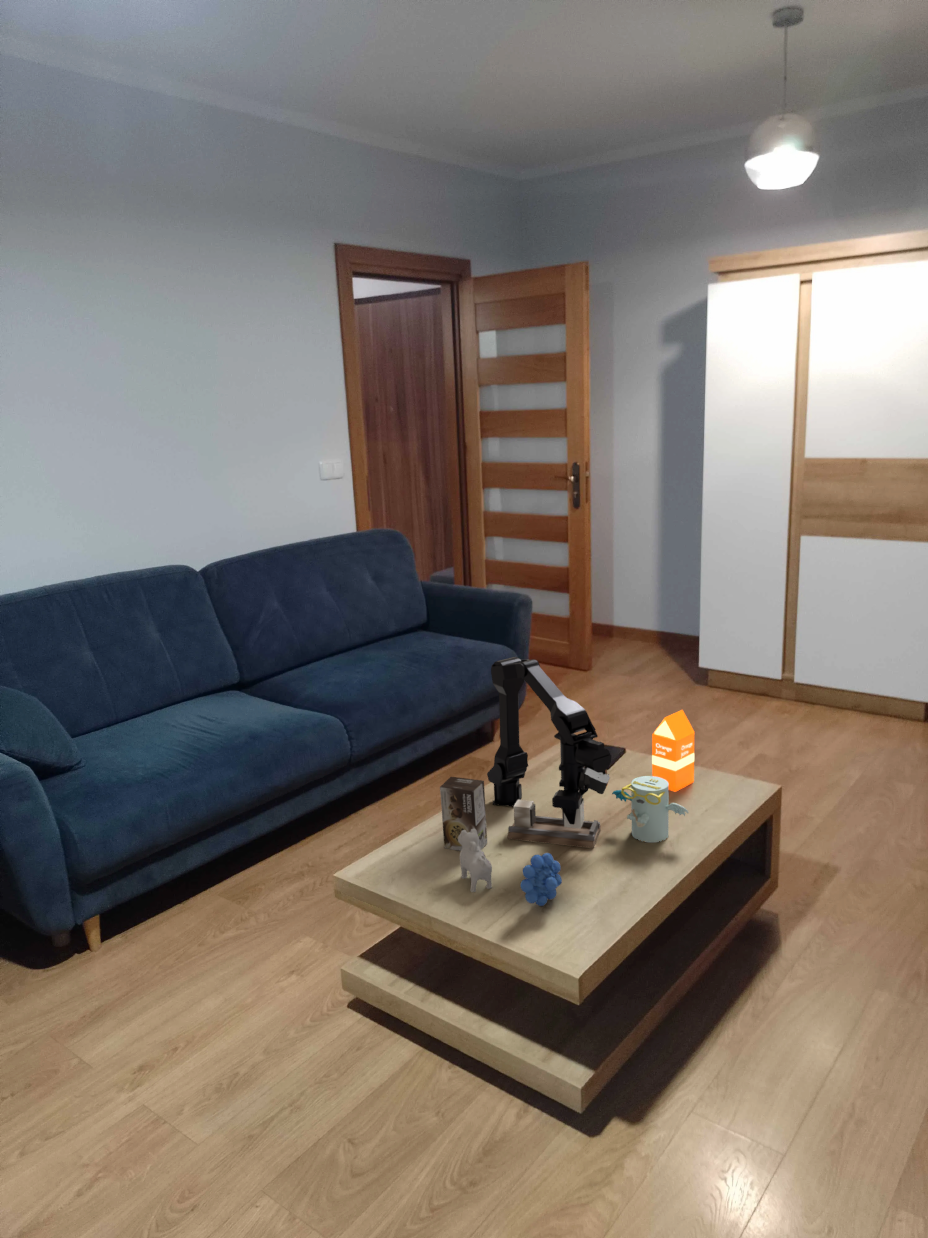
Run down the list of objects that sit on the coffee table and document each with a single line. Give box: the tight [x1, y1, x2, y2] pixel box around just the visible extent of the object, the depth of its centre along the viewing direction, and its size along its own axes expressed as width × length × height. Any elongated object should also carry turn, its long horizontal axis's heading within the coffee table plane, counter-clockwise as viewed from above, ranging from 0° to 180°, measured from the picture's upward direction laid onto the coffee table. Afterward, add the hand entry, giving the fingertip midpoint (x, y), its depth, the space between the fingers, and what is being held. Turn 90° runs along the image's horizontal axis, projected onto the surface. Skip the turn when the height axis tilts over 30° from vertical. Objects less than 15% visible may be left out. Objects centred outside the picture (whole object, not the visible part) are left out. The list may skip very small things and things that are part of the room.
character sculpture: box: [611, 775, 689, 843], centre depth 218 cm, size 20×12×13 cm, turn 52°
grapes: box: [520, 852, 563, 907], centre depth 190 cm, size 12×7×12 cm, turn 132°
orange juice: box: [651, 709, 695, 793], centre depth 246 cm, size 8×9×20 cm
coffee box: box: [439, 776, 488, 852], centre depth 218 cm, size 9×6×16 cm
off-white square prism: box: [561, 797, 585, 829], centre depth 220 cm, size 4×4×6 cm
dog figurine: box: [458, 829, 493, 893], centre depth 203 cm, size 5×13×11 cm, turn 20°
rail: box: [507, 799, 602, 849], centre depth 222 cm, size 21×9×8 cm, turn 71°
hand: (574, 820), depth 220 cm, fingers closed on off-white square prism, 4 cm apart
